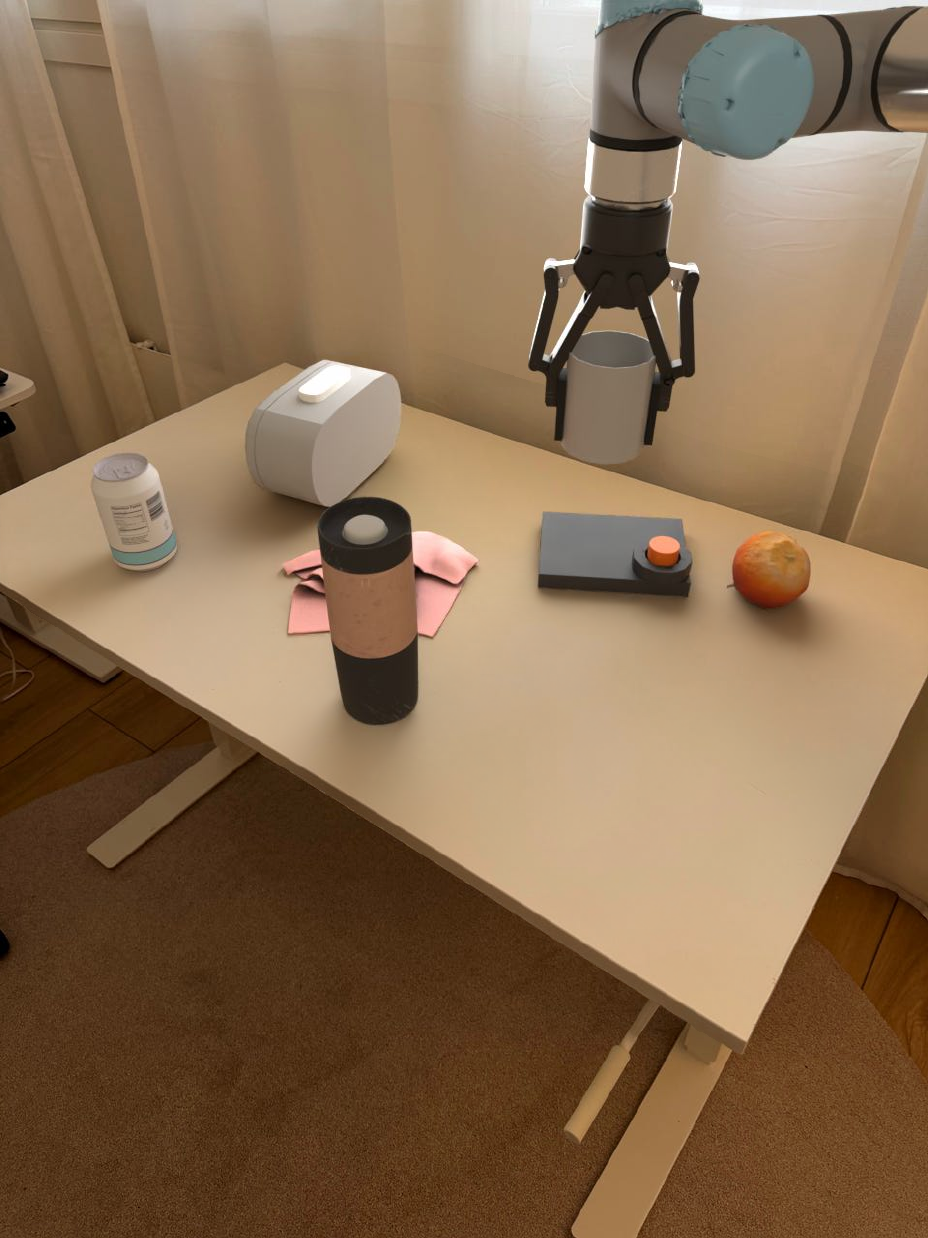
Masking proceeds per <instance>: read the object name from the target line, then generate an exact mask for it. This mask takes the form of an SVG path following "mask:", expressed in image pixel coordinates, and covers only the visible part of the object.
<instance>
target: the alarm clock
mask: <svg viewBox="0 0 928 1238" xmlns="http://www.w3.org/2000/svg"><path fill="white" fill-rule="evenodd" d="M401 422H402V397H401V389H400V386H399V382H398V380H397V379H396V377H395V376H394V375H393V374H390V373H388V372H385V371H380V370H375V369H371V368H367V367H361V366H358V365H352V364H347V363H343V362H339V361H335V360H329V359H322V360H320V361H317V362H316V363H314V364H312V365H310V366H308V367H307V368H305V369H304V370H302V371H301V372H300V373H298V374H297V375H295V376H294V377H292V378H291V379H290V380H288V381H287V382H285V383H284V384H283V385H281V386H280V387H278V388H277V389H275V391H273V392H271V393H270V394H269V395H268V396H267V397H266V398H264V400H262V402H260V403H259V404H258V405H257V406H256V407H255V408H254V409H253V411H252V413H251V415H250V417H249V419H248V421H247V425H246V426H247V427H246V430H245V436H244V441H245V442H244V452H245V460H246V464H247V468H248V472H249V474H250V476H251V478H252V480H253V482H254V483H255V484H256V485H257V486H258V487H260V488H261V489H262V490H266V491H268V492H273V493H276V494H280V495H283V496H287V497H291V498H293V499H298V500H300V501H305V502H308V503H311V504H315V505H319V506H321V507H328V508H329V507H331V506H332V505H334V504H336V503H339V502H341V501H344V500H345V499H346V498H347V497H348V496H349V495H351V493H353V492H354V490H356V489H357V488H358V487H359V486H360V485H361V484H362V483H363V482H365V480H366V479H367V478H368V477H370V475H372V474H373V473H374V472H375V471H376V470H377V469H378V468H379V467H380V466H381V465H382V464H383V463H384V461H385V460H386V459H387V458H388V457H389V456H390V454H391V453H392V452H393V450H394V447H395V446H396V443H397V441H398V438H399V434H400V429H401Z"/></svg>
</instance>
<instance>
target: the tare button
mask: <svg viewBox="0 0 928 1238" xmlns="http://www.w3.org/2000/svg"><path fill="white" fill-rule="evenodd" d="M679 550H680V544H679V543H678V541H676V540H675V539H673V538H671V537H667V536H658V537H654V538H653V539H651V540H650V542H649V548H648V554H647V558H648V560H649V561H650V562H651V563H653V564H656V565H658V566H672V565H674V564H675V563H676V562H677V560H678V555H679Z"/></svg>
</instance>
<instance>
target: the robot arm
mask: <svg viewBox="0 0 928 1238" xmlns="http://www.w3.org/2000/svg"><path fill="white" fill-rule="evenodd" d="M703 11H704V5H703V0H600V6H599V12H598V13H599V14H598V20H597V27H596V29H595V30H594V39H595V41H594V55H593V56H594V57H593V69H592V84H591V85H592V89H591V101H590V119H589V137H588V142H587V154H586V164H585V165H586V166H585V180H584V189H585V191H586V193H587V194H588V195H587V196H586V197H585V199H584V200H583V206H582V218H581V230H580V231H581V232H580V245H579V248H578V251H577V253H576V254H575V256H574V258H573V259H567V260H561V261H558V260H557V259H555V258H553V257H549V258H548V259H546V260H545V262H544V267H543V282H544V283H543V284H544V293H543V296H542V301H541V305H540V308H539V314H538V318H537V322H536V325H535V329H534V333H533V337H532V342H531V346H530V350H529V355H528V362H527V363H528V364H527V366H528V369H529V370H530V371H531V372H540V373H542V374H543V375H544V376H545V394H544V395H545V396H544V403H545V405H546V407H549V408H555V418H554V419H555V420H554V433H553V434H554V437H553V441H554V442H561V441H562V430H563V417H564V404H565V390H566V368H567V367H565V366H566V364H567V360H568V358H569V353H572V351H573V349H574V347H575V346H576V344H577V342H578V340H579V339H580V337H581V335H582V334H584V332H585V330H586V328H587V326H588V325H589V323H590V321H591V319H593V318H594V316H595V315H596V313H597V311H598V309H601V310H611V309H616V308H620V309H623V310H626V311H627V310H628V311H635V309H636V308H637V311H638V314H639V316H640V320H641V322H642V325H643V328H644V331H645V333H646V337H647V340H649V343H650V346H651V349H652V352H653V355H654V356H656V359H655V361H656V368H657V369H658V371H655V374H654V381H653V386H652V393H651V400H650V407H649V414H648V421H647V428H646V434H645V441H644V446H653V443H654V442H653V441H654V436H655V429H656V423H657V416H658V412H663V413H664V412H665V413H666V412H668V410H669V408H670V405H671V397H672V393H673V392H672V390H673V386H674V385H675V383H676V380H678V379H680V378H685V379H686V378H687V379H689V378H692V377H693V376H694V375H695V373H696V355H695V354H696V352H695V319H694V317H695V315H694V314H695V313H694V298H695V295H696V293H697V292H696V291H697V289H698V286H699V282H700V279H701V277H700V273H699V269H698V265H697V264H696V263H695V262H693V261H692V262H687V263H686V264H685V265H684V264H680V263H675V262H671V261H670V259H669V256H668V247H669V246H668V245H669V239H670V233H671V232H670V231H671V225H672V218H673V217H672V216H673V211H674V204H673V202H672V200H671V199H670V198H671V197H672V196H674V195H675V193H676V190H677V182H678V175H679V169H680V168H679V167H680V161H681V160H680V159H681V153H682V144H683V140H685V141H687V142H689V143H690V144H691V143H692V144H694V145H696V146H697V147H700V148H701V149H702V150H703V151H705V152H710V153H711V154H712V155H714V156H718V157H723V158H725V157H729V158H733V159H736V160H741V161H755V160H760V159H764V158H767V157H768V156H769V155H771V154H773V152H775V151H777V150H778V148H780V147H782V146H783V145H785V144H787V143H788V142H789V141H790V140H791V139H796V138H803V137H804V138H805V137H811V136H816V135H822V134H823V135H824V134H834V133H835V134H836V133H847V132H877V133H918V134H919V133H920V134H928V6H927V5H925V6H922V5H905V6H903V5H902V6H898V7H897V6H896V7H895V6H894V7H888V8H883V9H873V10H861V11H850V12H840V13H831V14H812V15H811V14H810V15H798V16H796V15H795V16H781V17H779V16H778V17H769V18H768V17H766V18H765V17H764V18H754V19H751V18H750V19H729V18H728V19H727V18H721V17H716V16H712V15H711V16H710V15H705V14H703ZM572 275H575V277H576V278H577V280H578V282H579V283H580V285H581V287H582V289H583V290H584V291H583V293H582V294H581V298H580V299H579V302H578V304H577V306H576V308H575V310H574V312H573V313H572V315H571V317H570V319H569V320H568V322H567V324H566V326H565V328H564V329H563V331H562V333H561V335H560V337H559V339H558V340H557V342H556V344H555V346H554V348H553V349H552V352H551V353H550V355H548V354H546V353H545V351H546V348H547V344H548V341H549V336H550V332H551V328H552V324H553V321H554V316H555V314H556V313H555V312H556V309H557V306H558V305H557V304H558V301H559V293H560V289H563V288H565V287H566V286H567V285H568V282H569V279H570V277H571V276H572ZM667 279H670V280H671V285H672V286H671V287H672V290H674V292H675V293H676V292H677V293H676V294H677V297H676V299H677V319H678V324H677V325H678V344H679V345H678V346H679V348H678V349H679V358H677V359H675V360H672V358H671V355H670V352H669V349H668V345H667V343H666V340H665V335H664V333H663V331H662V326H661V324H660V321H659V318H658V314H657V311H656V308H655V305H654V302H653V297H652V295H653V294H654V293H655V292H656V291H657V289H659V287H660V286H661V285H662V284H663V283H664V282H665V280H667Z"/></svg>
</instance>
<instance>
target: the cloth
mask: <svg viewBox="0 0 928 1238" xmlns="http://www.w3.org/2000/svg"><path fill="white" fill-rule="evenodd" d="M412 545H413V561H414V577H415V592H416V608H417V624H418V635H422V636H426V637H430V638H434V637H435V635H436V634H437V632H438V630H439V628H440V627H441V625H442V624H443V622H444V620H445V618H446V617H447V615H448V613H449V612H450V611H451V609H452V607H453V605H454V603H455V602H456V599H457V597H458V595H459V593H460V592H461V590H462V588H463V586H464V584H465V577H466V575H467V574H468V572H469V570H471V569H472V567H474V565H477V563H478V562H480V560H479V559H478V558H477V557H475V556H474V555H472V554H471V553H469V552H468V551H467V550H466V549H465V548H464V547H462V546H460V544H457V543H455V542H453V541H452V540H450V539H449V538H447V537H445V536H442V535H439V534H437V533H434V532H432V531H429V530H427V531H426V530H419V531H413V532H412ZM282 566H283V568H284V570H285V572H286V575H287V576H290V575H291V574H295V576H298V577H300V578H301V579H303V580H305V581H302V582H301V581H300V582H298V583H297V584H296V585H295V586H294V588H293V591H292V597H291V603H290V604H291V605H290V613H289V620H288V630H287V631H288V632H287V634H288V635H292V634H305V633H306V634H309V633H319V632H320V633H321V632H330V628H329V620H328V611H327V603H326V595H325V587H324V579H323V571H322V563H321V555H320V548H319V549H315V550H310V551H308V552H306V553H303V554H301V555H300V556H298V557H296V558H293V559H291V560H288V561H286V562H283V563H282ZM315 576H319V577H316V578H315V579H311V580H309V579H310V578H313V577H315Z"/></svg>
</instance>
